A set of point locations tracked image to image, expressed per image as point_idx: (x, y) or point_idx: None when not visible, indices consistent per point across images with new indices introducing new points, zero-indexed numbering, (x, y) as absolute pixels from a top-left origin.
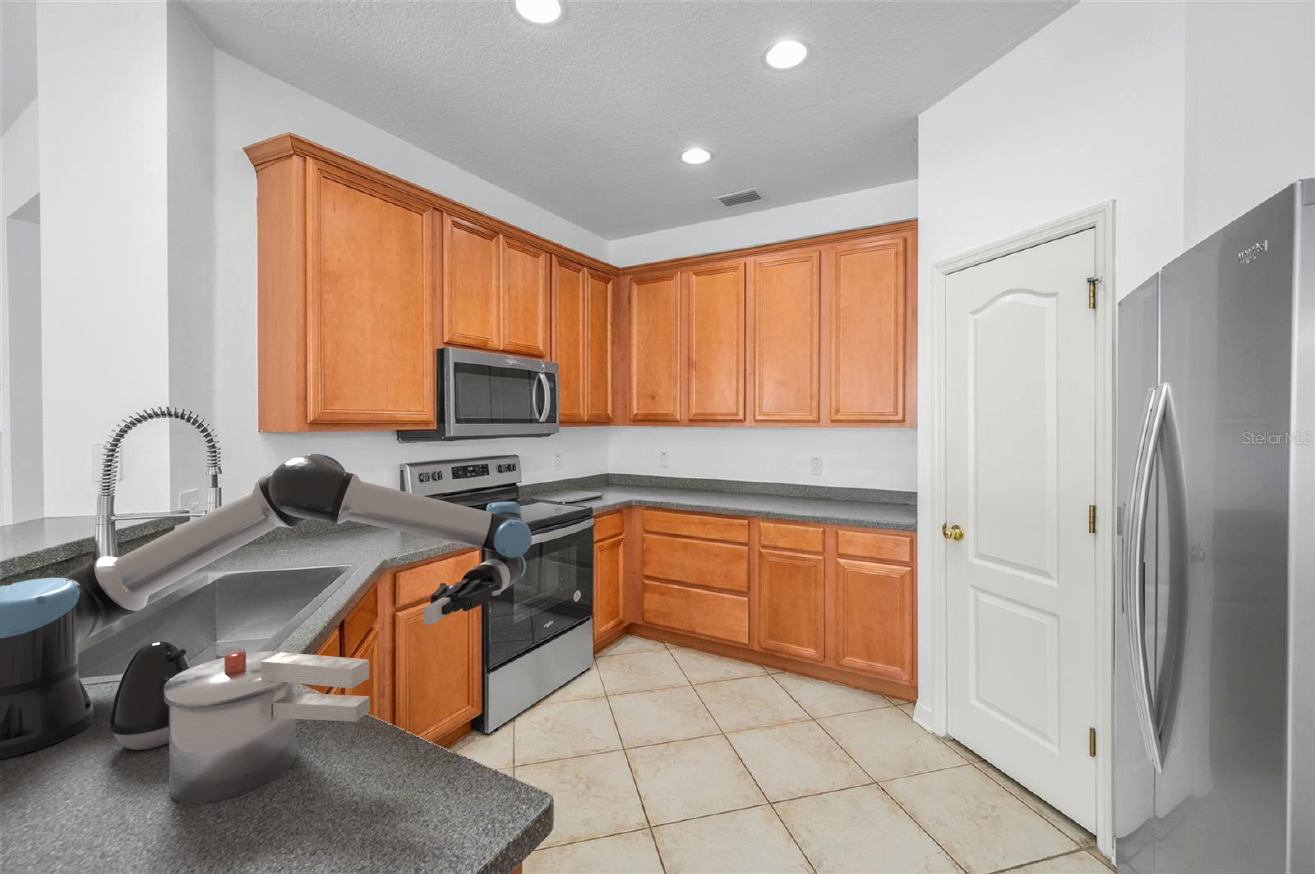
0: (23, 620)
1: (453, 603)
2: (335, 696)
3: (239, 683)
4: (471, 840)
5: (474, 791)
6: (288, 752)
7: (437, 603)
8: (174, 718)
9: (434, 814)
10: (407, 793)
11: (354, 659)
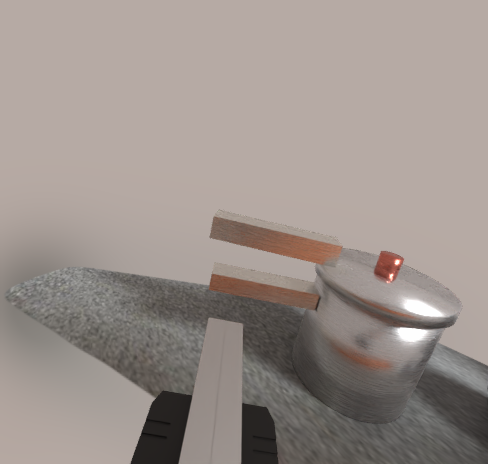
0: None
1: (133, 457)
2: (254, 279)
3: (342, 256)
4: (76, 277)
5: (67, 314)
6: (300, 356)
7: (213, 369)
8: None
9: (109, 299)
10: (140, 321)
11: (232, 219)
